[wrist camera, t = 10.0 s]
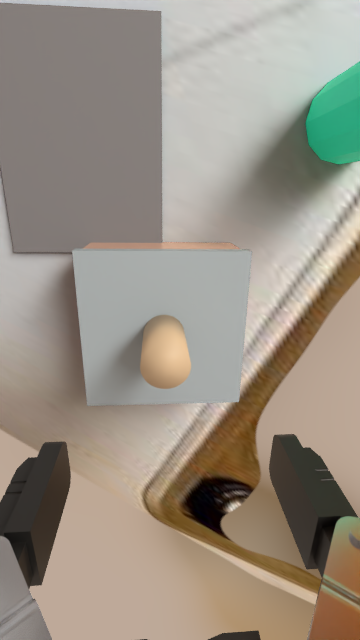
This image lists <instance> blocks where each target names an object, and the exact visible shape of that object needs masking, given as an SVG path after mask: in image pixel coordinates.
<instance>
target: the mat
mask: <svg viewBox="0 0 360 640" xmlns="http://www.w3.org/2000/svg"><path fill="white" fill-rule="evenodd" d="M0 167H1V173H2V180H3V186H4V192H5V199H6V205H7V211H8V218H9V224H10V230H11V237H12V243H13V249H14V252H72V251H73V250H74V249H83V248H84V247H85V246H87V245H88V244H90V243H162V94H161V11H147V10H128V9H109V8H90V7H70V6H51V5H32V4H13V3H0Z"/></svg>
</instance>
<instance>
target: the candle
mask: <svg viewBox="0 0 360 640" xmlns="http://www.w3.org/2000/svg"><path fill="white" fill-rule="evenodd" d="M305 124H306V131H307V137H308V144H309V146H310V147H311V148H312V149H313V151H314V152H315V153H316V154H317V156H318V157H319V158H320V159H321V160H324V161H328V162H331V163H335V164H344V163H350V162H356V161H360V62H358V63H357V64H355V65H354V66H352V67H351V68H349V69H348V70H346V71H345V72H343V73H342V74H340V75H339V76H337V77H336V78H334V79H333V80H331V81H329V82H328V83H327V84H326V85H325V87H324V88H323V89H322V90H321V91H320V92H319V93H318V94H317V95H316V97H315V98H314V99H313V100H312V103H311V106H310V110H309V113H308V116H307V119H306V123H305Z"/></svg>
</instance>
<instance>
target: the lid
mask: <svg viewBox="0 0 360 640" xmlns="http://www.w3.org/2000/svg"><path fill="white" fill-rule="evenodd" d="M72 256H73V266H74V276H75V286H76V296H77V307H78V317H79V327H80V337H81V348H82V358H83V368H84V378H85V388H86V399H87V406H107V405H144V404H181V403H218V402H239V394H240V383H241V371H242V360H243V349H244V337H245V326H246V315H247V303H248V292H249V281H250V269H251V258H252V251H250V250H249V249H74V250H73V251H72Z"/></svg>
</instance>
